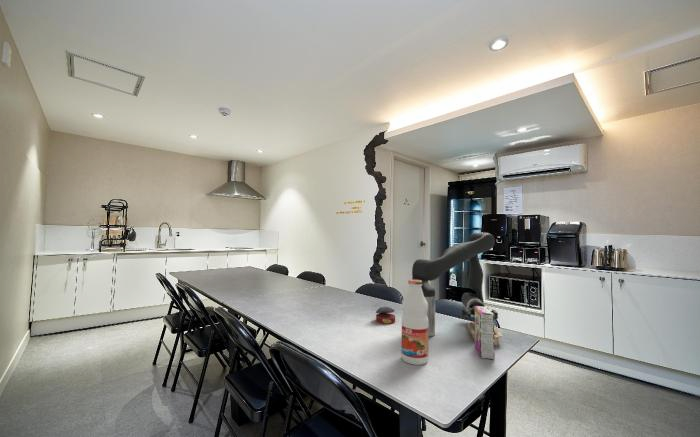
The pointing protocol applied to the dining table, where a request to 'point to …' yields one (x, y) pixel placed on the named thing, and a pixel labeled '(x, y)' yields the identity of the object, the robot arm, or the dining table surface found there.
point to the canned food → (385, 316)
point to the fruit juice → (415, 325)
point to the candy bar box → (484, 332)
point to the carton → (496, 332)
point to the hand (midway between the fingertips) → (481, 317)
